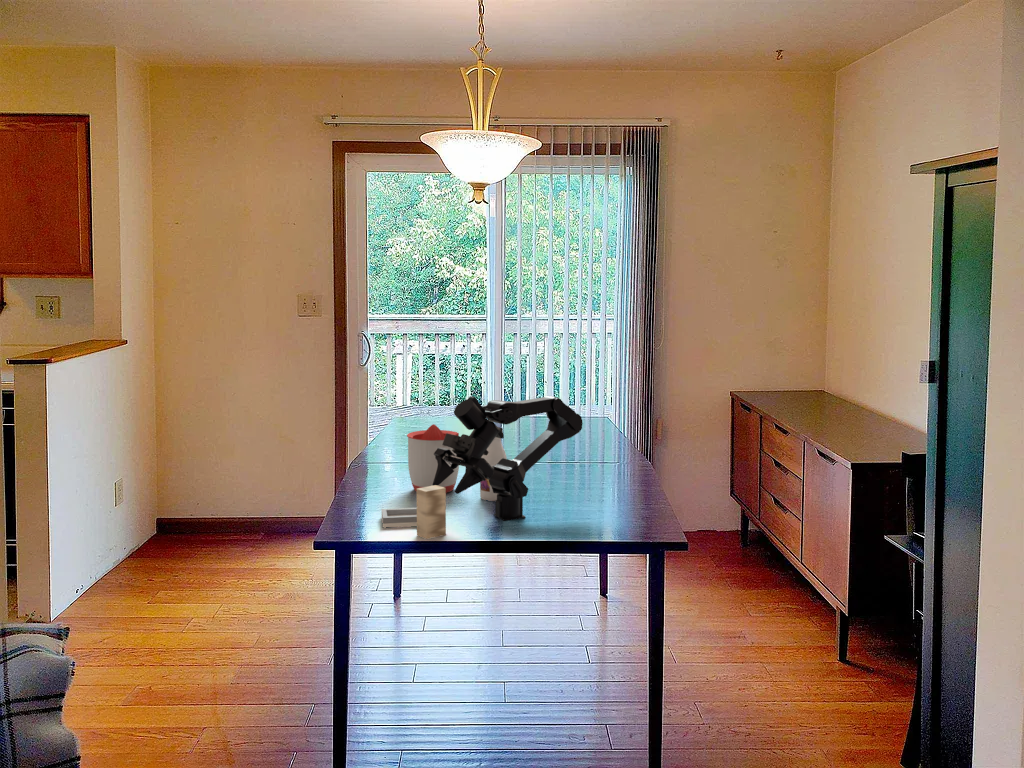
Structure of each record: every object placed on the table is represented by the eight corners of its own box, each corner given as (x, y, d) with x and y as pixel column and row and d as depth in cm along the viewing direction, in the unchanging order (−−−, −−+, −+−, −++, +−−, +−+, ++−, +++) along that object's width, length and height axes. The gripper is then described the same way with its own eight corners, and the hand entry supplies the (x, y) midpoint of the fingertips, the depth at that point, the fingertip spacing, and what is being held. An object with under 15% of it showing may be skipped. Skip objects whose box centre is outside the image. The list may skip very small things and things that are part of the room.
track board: (441, 515, 255) (441, 506, 255) (445, 525, 245) (445, 515, 245) (381, 517, 252) (381, 508, 252) (383, 528, 243) (383, 518, 242)
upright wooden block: (436, 531, 240) (436, 484, 239) (445, 534, 237) (445, 487, 236) (416, 535, 236) (416, 488, 235) (426, 539, 233) (425, 491, 232)
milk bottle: (506, 495, 277) (506, 427, 275) (507, 501, 270) (507, 432, 267) (480, 495, 277) (480, 427, 274) (480, 501, 269) (480, 432, 267)
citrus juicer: (464, 497, 274) (463, 429, 272) (404, 496, 275) (403, 428, 272) (467, 484, 290) (467, 420, 287) (411, 484, 290) (410, 419, 288)
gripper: (439, 416, 246) (404, 464, 241) (484, 426, 232) (448, 477, 226) (463, 443, 252) (429, 489, 247) (509, 454, 238) (474, 503, 233)
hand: (444, 489), depth 238 cm, fingers open, 9 cm apart
